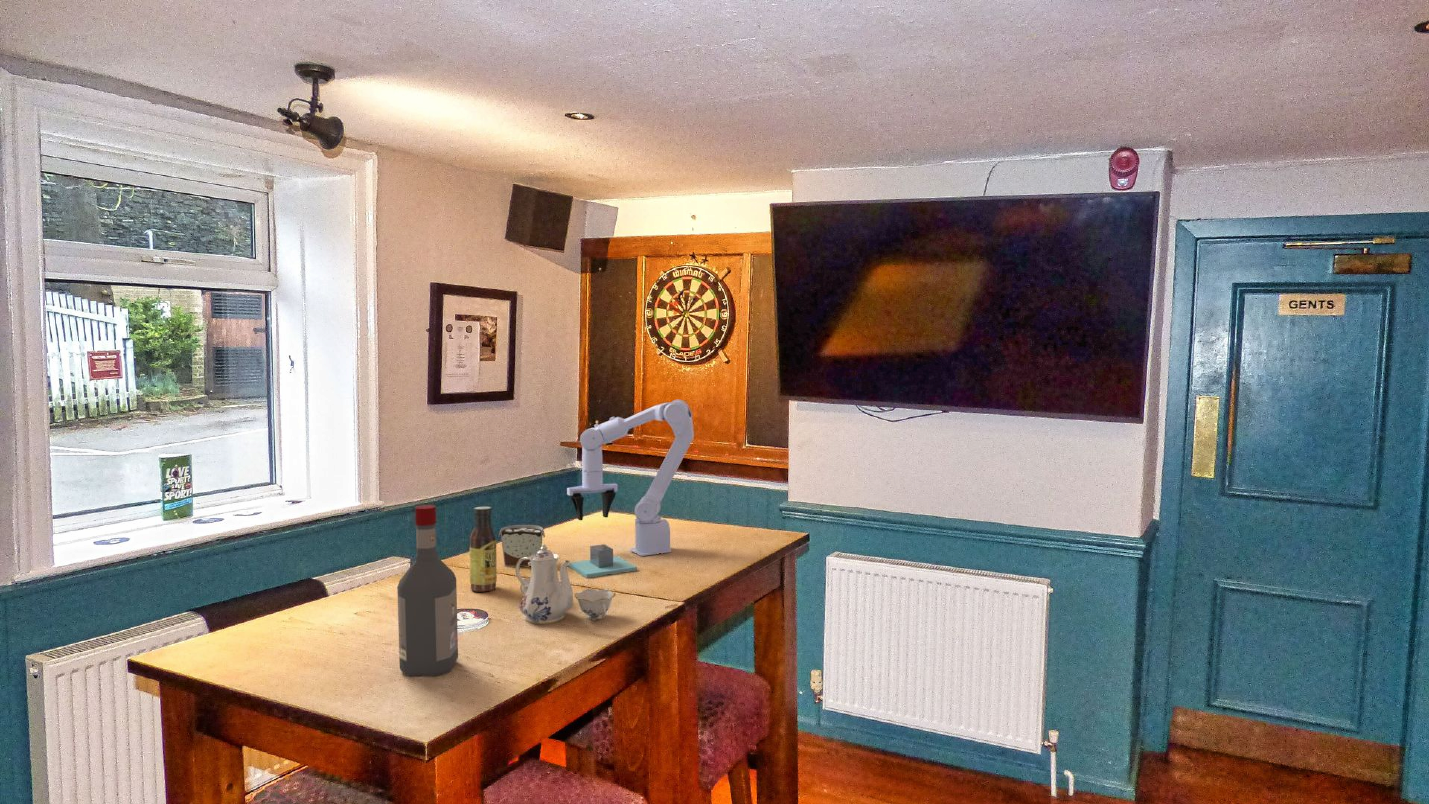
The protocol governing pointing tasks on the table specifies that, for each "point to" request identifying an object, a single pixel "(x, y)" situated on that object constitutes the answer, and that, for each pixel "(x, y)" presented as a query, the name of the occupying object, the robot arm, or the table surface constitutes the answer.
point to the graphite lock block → (601, 556)
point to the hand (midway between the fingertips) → (592, 518)
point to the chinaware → (556, 591)
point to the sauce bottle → (483, 552)
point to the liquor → (427, 606)
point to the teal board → (592, 571)
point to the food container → (520, 543)
